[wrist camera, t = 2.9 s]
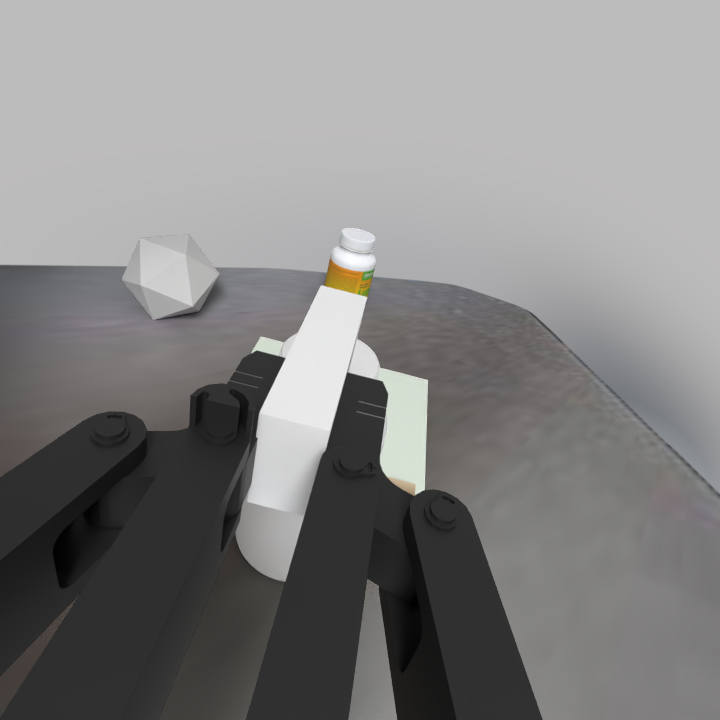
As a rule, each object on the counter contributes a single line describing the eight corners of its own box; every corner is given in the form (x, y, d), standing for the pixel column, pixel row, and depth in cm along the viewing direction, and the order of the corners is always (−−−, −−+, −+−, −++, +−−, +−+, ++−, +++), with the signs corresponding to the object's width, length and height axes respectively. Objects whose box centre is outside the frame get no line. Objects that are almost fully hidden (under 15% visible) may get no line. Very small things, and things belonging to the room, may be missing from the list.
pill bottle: (207, 530, 33) (222, 342, 25) (292, 470, 39) (327, 302, 31) (292, 614, 30) (343, 429, 22) (371, 535, 36) (435, 366, 27)
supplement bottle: (357, 324, 60) (376, 248, 55) (314, 310, 60) (329, 234, 55) (367, 306, 64) (386, 234, 59) (328, 293, 65) (343, 221, 60)
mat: (422, 500, 39) (424, 495, 39) (199, 442, 39) (200, 437, 39) (426, 383, 53) (427, 380, 53) (260, 340, 53) (261, 336, 52)
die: (194, 290, 59) (139, 221, 54) (246, 283, 55) (192, 206, 49) (152, 339, 55) (87, 269, 49) (205, 336, 50) (140, 258, 44)
